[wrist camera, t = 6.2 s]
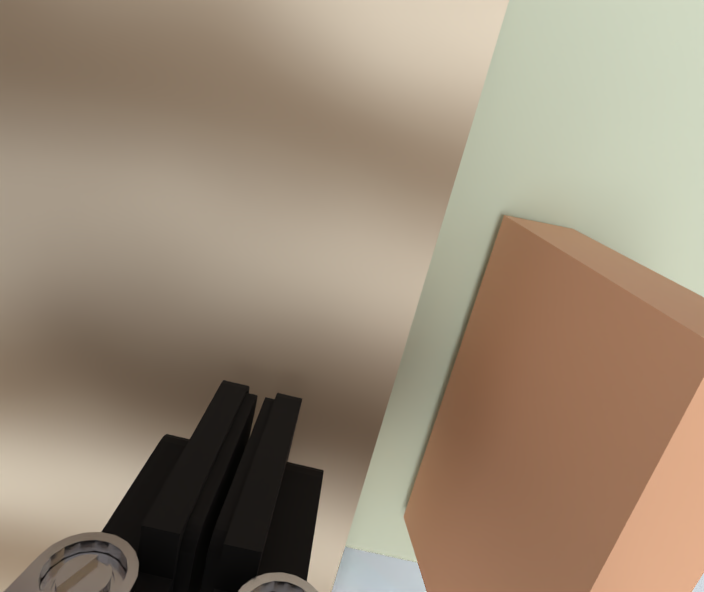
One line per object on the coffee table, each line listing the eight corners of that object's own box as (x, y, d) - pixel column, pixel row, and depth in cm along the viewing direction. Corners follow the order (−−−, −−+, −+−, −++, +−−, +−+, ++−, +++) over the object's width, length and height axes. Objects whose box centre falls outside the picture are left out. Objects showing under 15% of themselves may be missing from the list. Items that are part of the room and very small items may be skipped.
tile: (720, 347, 7) (833, 364, 8) (504, 215, 13) (572, 228, 14) (487, 785, 11) (574, 779, 11) (403, 517, 17) (461, 519, 17)
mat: (549, -163, 11) (555, -172, 11) (1007, -39, 12) (1027, -44, 11) (342, 536, 19) (341, 545, 18) (632, 601, 19) (637, 611, 18)
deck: (-29, -145, 12) (-214, -253, 8) (483, -13, 12) (527, -59, 9) (-16, 523, 19) (-112, 628, 15) (311, 595, 20) (294, 713, 16)
